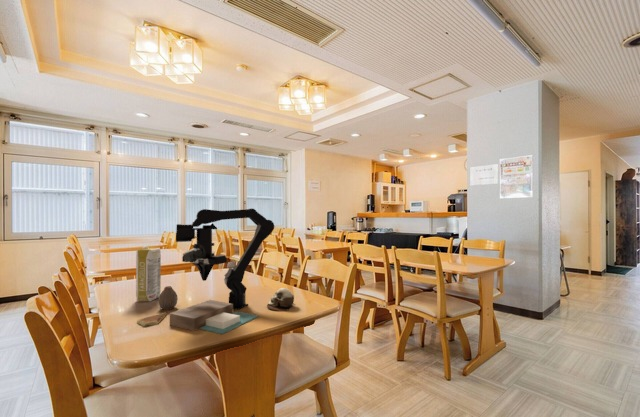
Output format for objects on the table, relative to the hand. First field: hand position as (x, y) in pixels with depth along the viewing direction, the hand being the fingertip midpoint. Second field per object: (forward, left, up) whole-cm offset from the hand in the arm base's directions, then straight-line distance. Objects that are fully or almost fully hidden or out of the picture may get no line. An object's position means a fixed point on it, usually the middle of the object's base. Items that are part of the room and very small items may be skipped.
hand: (204, 280), depth 118 cm
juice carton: (-1, -36, -12) cm, 38 cm away
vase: (+4, -16, -12) cm, 21 cm away
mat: (+5, +18, -12) cm, 23 cm away
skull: (-18, +24, -12) cm, 33 cm away
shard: (+16, -9, -13) cm, 22 cm away
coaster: (+8, +17, -12) cm, 22 cm away
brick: (+7, +7, -12) cm, 16 cm away
